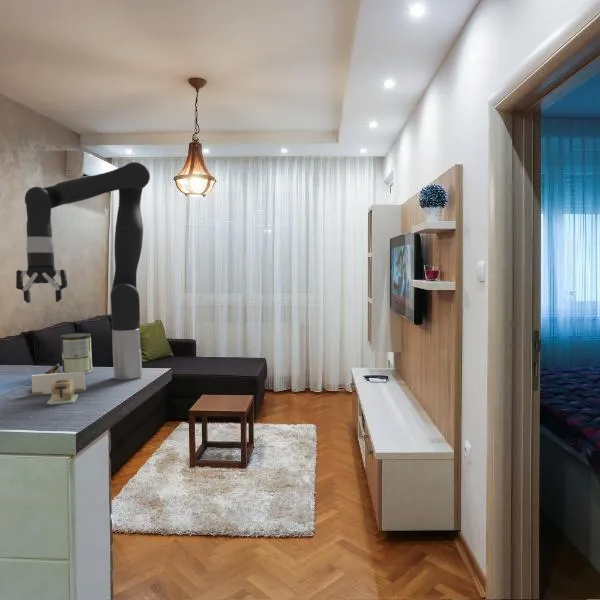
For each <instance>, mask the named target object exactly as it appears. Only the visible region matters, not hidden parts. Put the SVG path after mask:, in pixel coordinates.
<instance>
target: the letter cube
mask: <svg viewBox="0 0 600 600" xmlns="http://www.w3.org/2000/svg"><path fill="white" fill-rule="evenodd" d="M51 392H52V394H51V398H52V401H63V400H71V399H72V398H73V396H74V395H75V392H74V380H73V379H67V380H55V381H54V382H53V383H52V384H51Z"/></svg>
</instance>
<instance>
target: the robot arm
mask: <svg viewBox="0 0 600 600" xmlns="http://www.w3.org/2000/svg"><path fill="white" fill-rule="evenodd" d="M150 178H151V173H150V170H149V168H147V166H146V165H144V164H143V163H141V162H136V161H133V162H128V163H127V164H125V165H122V166H120V167H118V168H116V169H113V170H110V171H107V172H102V173H99V174H95V175H88V176H85V177H79V178H73V179H70V180H65V181H62V182H58V183H56V184H54V185H50V186H46V187H40V186H33V187H30V188H28V190H27V191H26V193H25V196H24V203H25V208H26V216H27V217H26V218H27V220H26V247H25V248H26V249H25V250H26V258H27V270H21V269H19V270H16V272H15V274H16V275H15V277H16V279H15V280H16V281H15V283H16V285H15V288H16V289H17V290H21V291H22V292H23V300H24V302H26V304H30V303H31V301H32V300H31V290H30V289H31V287H33V286H34V285H35V284H50V285H51V286H53V288H54V289H55V292H54V293H55V302H56V303H59V302H61V300H62V299H63V298H62V296H63V295H62V290H64V289H66V288H68V280H67V279H68V278H67V271H66V269H58V270H56V268H55V251H54V249H55V247H54V246H55V245H54V241H53V229H52V228H53V227H52V220H51V219H52V209H54V208H57V207H61V206H63V205H67V204H72V203H78V202H82V201H85V200H89V199H92V198H95V197H98V196H100V195H104V194H106V193H110V192H115V191H118V207H117V214H116V221H115V222H116V223H115V231H114V248H113V249H114V276H113V281H112V288H111V292H110V297H109V298H110V307H111V309H110V310H111V338H112V340H111V341H112V361H113V362H112V363H113V378H114V379H115V380H119V381H122V380H123V381H124V380H135V379H139V378H142V376H143V368H142V367H143V365H142V349H141V331H140V330H141V328H140V324H141V323H140V322H141V311H140V309H141V308H140V304H141V303H140V301H141V300H140V294H139V291H138V289H137V288H138V287H137V286H138V285H137V274H138V273H137V271H138V266H139V262H140V259H141V258H140V257H141V254H142V248H143V238H144V237H143V236H144V224H143V218H142V211H141V200H142V194H143V189H144V188H145V187H146V186H147V185H148V184H149V182H150V180H151V179H150ZM56 275H58V277H59V278H60V283H61V285H60V284H59V282H58V281H57V280H56V279H55V276H56ZM25 276H28V278H29V279H28V281H26V283H25V285H24V284H23V283H24V278H25Z"/></svg>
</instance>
